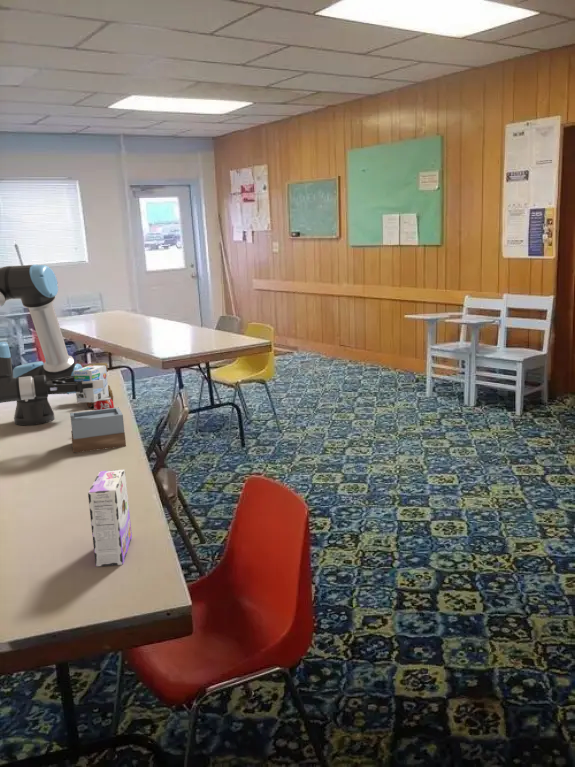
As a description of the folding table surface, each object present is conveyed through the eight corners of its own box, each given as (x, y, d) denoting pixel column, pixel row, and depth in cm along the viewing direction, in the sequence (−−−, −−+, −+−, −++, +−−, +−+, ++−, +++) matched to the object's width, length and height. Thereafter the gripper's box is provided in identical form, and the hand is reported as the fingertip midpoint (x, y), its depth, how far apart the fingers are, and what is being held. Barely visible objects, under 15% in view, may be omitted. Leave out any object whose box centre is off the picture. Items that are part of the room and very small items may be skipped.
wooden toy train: (85, 400, 310) (81, 364, 307) (111, 398, 313) (107, 361, 310) (87, 409, 291) (83, 371, 288) (115, 406, 295) (111, 368, 292)
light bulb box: (94, 402, 227) (91, 370, 225) (76, 402, 228) (72, 370, 226) (109, 395, 237) (106, 364, 235) (91, 395, 238) (88, 365, 236)
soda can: (120, 428, 257) (116, 396, 255) (107, 433, 251) (104, 400, 248) (105, 427, 260) (101, 395, 258) (92, 431, 254) (88, 399, 251)
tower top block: (71, 430, 238) (69, 413, 237) (120, 424, 243) (118, 407, 242) (73, 439, 227) (71, 421, 225) (124, 432, 232) (122, 414, 231)
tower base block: (72, 444, 240) (71, 430, 239) (122, 438, 244) (121, 424, 244) (73, 454, 227) (71, 439, 226) (126, 447, 232) (124, 433, 231)
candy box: (106, 540, 156) (98, 470, 152) (132, 538, 156) (125, 468, 153) (94, 567, 142) (86, 491, 139) (123, 565, 142) (115, 489, 139)
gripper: (36, 392, 238) (101, 385, 244) (34, 406, 215) (105, 398, 222) (34, 370, 237) (99, 364, 243) (31, 382, 214) (103, 375, 220)
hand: (102, 380), depth 232 cm, fingers closed on light bulb box, 12 cm apart
